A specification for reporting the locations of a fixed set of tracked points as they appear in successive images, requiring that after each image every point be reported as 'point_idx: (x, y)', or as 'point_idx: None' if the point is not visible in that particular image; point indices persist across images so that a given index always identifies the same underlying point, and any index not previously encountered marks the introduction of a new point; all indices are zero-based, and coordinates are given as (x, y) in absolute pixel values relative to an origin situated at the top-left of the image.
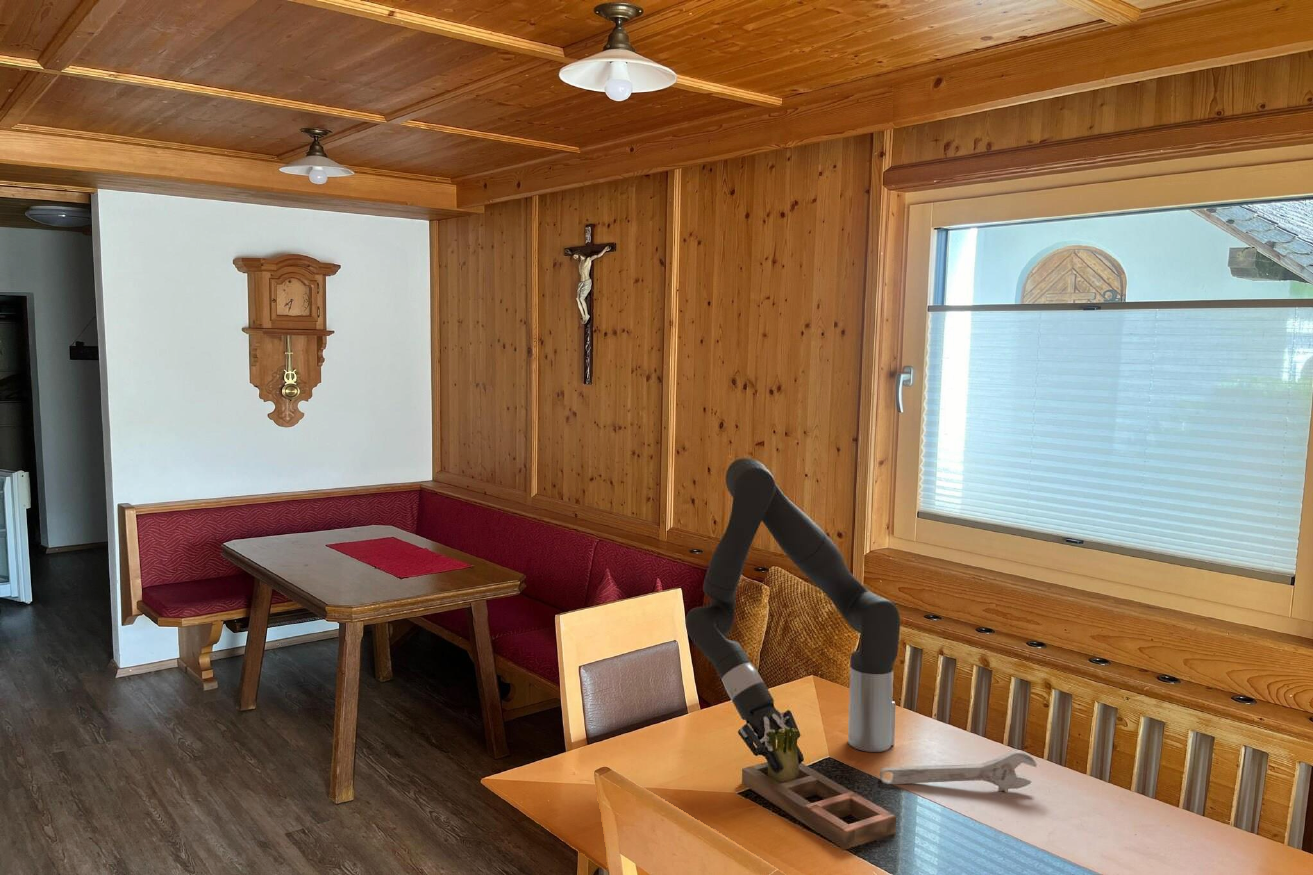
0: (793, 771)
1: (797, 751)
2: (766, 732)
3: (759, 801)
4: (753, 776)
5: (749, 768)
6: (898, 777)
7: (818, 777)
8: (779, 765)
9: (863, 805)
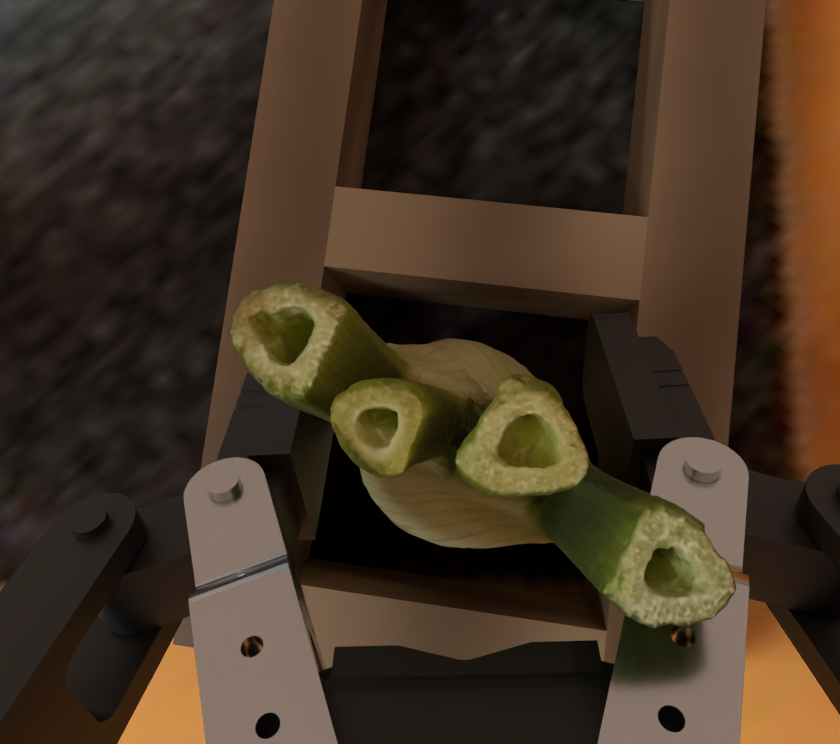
0: (432, 345)
1: None
2: (730, 647)
3: (756, 380)
4: None
5: None
6: None
7: (299, 207)
8: (633, 330)
9: None
